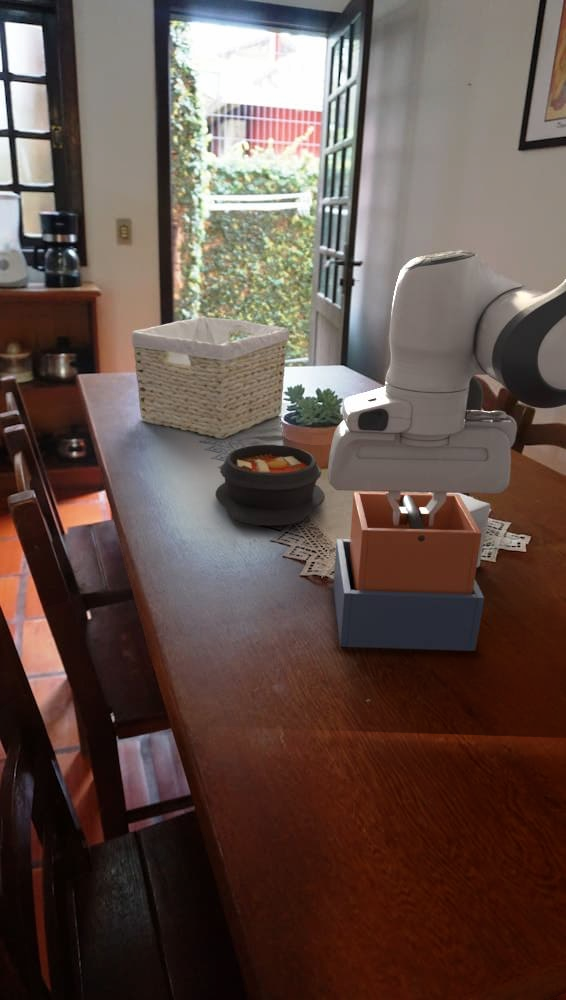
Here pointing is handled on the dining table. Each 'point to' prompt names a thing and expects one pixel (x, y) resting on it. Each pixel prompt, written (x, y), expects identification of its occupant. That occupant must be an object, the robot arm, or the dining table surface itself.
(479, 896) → the dining table surface
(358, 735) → the dining table surface
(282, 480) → the casserole
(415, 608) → the lower bin
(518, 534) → the dining table surface
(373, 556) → the orange bin
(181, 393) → the basket
